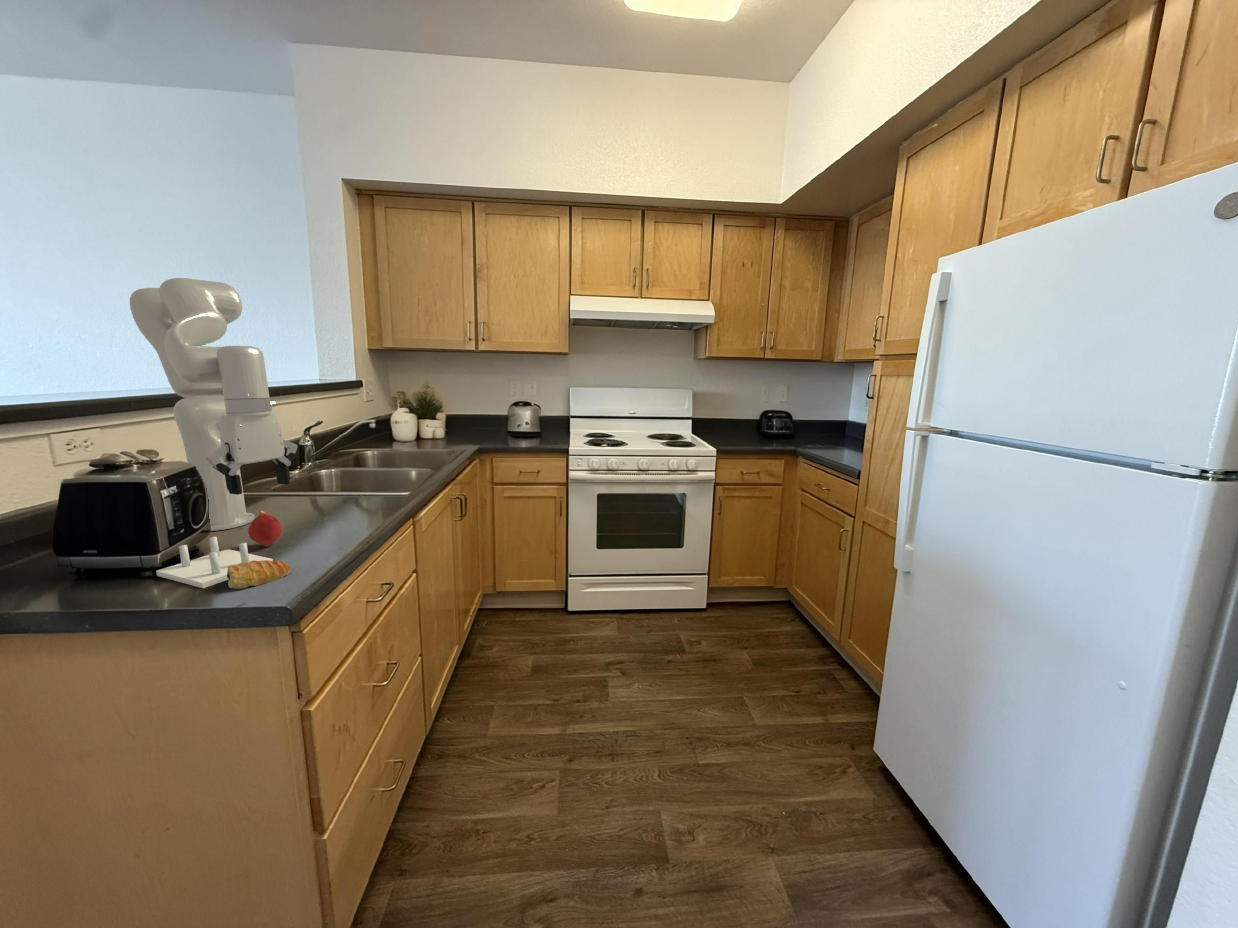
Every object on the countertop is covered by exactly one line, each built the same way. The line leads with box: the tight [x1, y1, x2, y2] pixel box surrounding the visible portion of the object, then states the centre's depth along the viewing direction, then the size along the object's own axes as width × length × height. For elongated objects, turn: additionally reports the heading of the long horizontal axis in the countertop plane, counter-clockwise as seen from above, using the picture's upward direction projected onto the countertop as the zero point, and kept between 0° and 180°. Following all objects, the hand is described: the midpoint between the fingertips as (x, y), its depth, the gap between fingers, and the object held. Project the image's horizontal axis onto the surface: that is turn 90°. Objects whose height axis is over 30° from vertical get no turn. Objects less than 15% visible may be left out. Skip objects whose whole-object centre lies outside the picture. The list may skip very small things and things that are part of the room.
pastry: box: [227, 560, 291, 590], centre depth 89 cm, size 9×7×4 cm
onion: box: [247, 510, 283, 547], centre depth 105 cm, size 6×6×8 cm
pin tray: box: [156, 536, 274, 589], centre depth 93 cm, size 14×12×5 cm
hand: (260, 488), depth 103 cm, fingers open, 9 cm apart
